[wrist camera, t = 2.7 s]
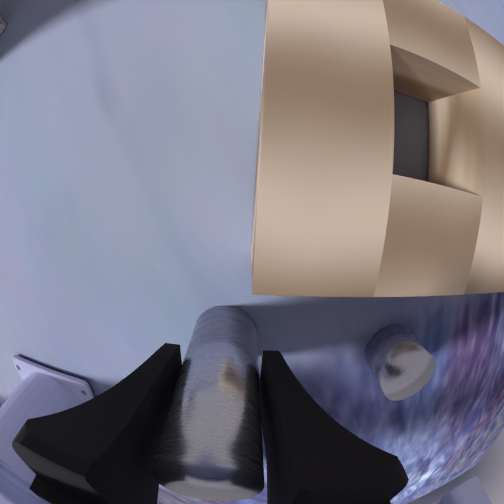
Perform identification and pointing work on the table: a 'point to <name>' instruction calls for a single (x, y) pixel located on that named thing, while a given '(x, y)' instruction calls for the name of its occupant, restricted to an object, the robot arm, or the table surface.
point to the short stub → (399, 362)
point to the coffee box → (2, 25)
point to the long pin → (215, 413)
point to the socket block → (377, 152)
